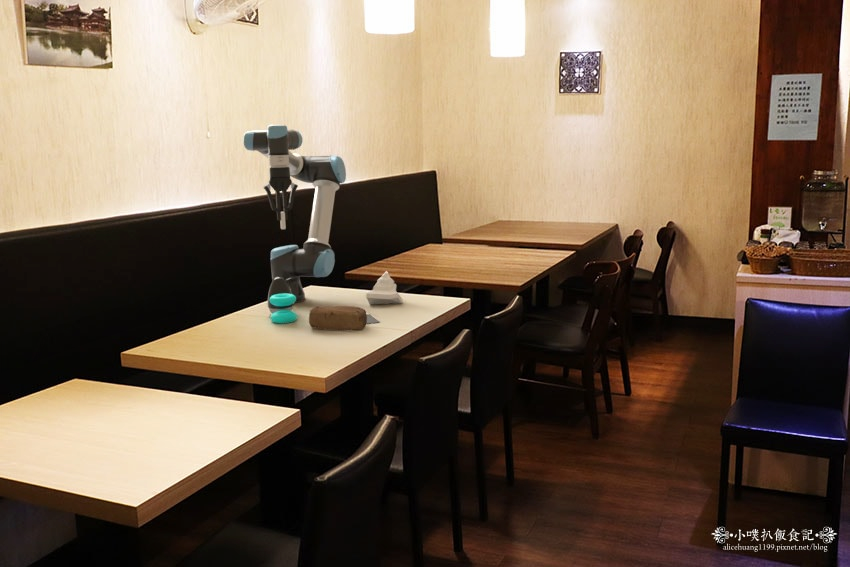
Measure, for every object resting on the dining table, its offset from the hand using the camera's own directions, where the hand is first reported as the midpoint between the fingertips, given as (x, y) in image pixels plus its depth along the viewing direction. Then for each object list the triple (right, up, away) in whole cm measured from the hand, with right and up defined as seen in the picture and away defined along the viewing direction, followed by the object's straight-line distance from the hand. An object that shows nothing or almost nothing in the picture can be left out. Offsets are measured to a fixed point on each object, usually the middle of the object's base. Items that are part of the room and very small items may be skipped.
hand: (283, 228), depth 302 cm
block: (+13, -33, -12) cm, 37 cm away
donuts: (0, -36, -1) cm, 36 cm away
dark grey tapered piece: (-2, -33, +10) cm, 35 cm away
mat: (+25, -35, -4) cm, 44 cm away
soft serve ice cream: (+38, -29, +25) cm, 54 cm away
